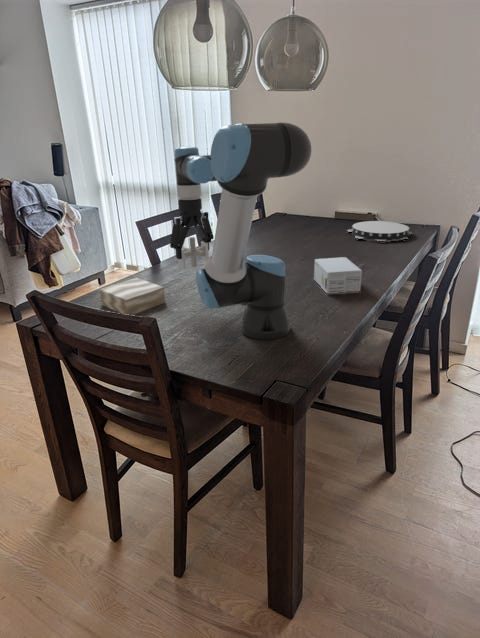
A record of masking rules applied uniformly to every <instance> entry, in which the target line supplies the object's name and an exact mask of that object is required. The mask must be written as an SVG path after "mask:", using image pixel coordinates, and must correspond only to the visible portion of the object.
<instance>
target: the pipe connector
mask: <svg viewBox="0 0 480 638" xmlns="http://www.w3.org/2000/svg"><path fill="white" fill-rule="evenodd" d="M182 249H184V254H185V258H188V257H190V263H191V268H196V267H197V266H198V265H197V256H198V257H201V258H202V257H204V256H205V255H206V252H205V247H201V246H199V247H197V248H196V237H195V236H190V237H189V247H184V246H183V247H182Z"/></svg>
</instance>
